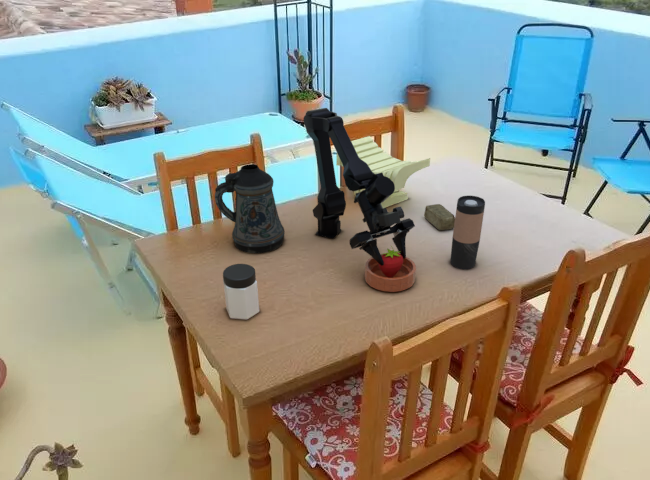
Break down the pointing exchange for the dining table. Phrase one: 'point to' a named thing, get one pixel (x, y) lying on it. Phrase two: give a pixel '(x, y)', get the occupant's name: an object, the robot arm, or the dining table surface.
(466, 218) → the travel mug
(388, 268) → the strawberry
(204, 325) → the dining table surface
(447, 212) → the stone block
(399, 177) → the slatted curved stool
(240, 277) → the jar
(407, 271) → the pot
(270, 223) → the beer stein
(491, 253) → the dining table surface
